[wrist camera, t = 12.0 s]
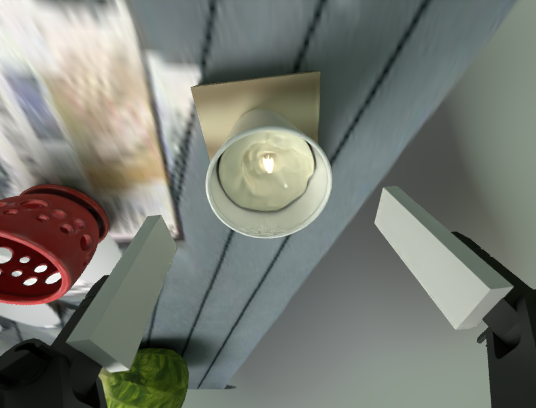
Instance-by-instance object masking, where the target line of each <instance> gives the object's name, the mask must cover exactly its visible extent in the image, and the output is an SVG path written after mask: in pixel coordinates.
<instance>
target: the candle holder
mask: <svg viewBox="0 0 536 408" xmlns="http://www.w3.org/2000/svg"><path fill="white" fill-rule="evenodd" d="M332 183H333V177H332V170H331V166H330V163H329V160H328V158H327V156H326V154H325V153H324V151H323V150H322V148H321V147H320V146H319V145H318V144H317V143H316V142H315V141H314V140H313V139H312V138H310V137H309V136H307V135H306V134H305V133H303V132H302V131H301V130H300V129H299V128H298V127H297V126H296V125H295V124H293V123H292V122H291V121H290V120H289V119H288V118H287V117H285V116H284V115H283V114H281V113H279V112H277V111H275V110H272V109H266V108H260V109H254V110H251V111H249V112H247V113H245V114H244V115H242V116H241V117H240V118H239V119H238V120H237V121H236V122H235V124H234V125H233V127H232V128H231V130H230V132H229V133H228V135H227V137H226V138H225V140H224V142H223V144H222V145H221V147H220V148H219V150H218V151H217V152H216V154H215V155H214V157H213V159H212V160H211V163H210V165H209V168H208V171H207V176H206V193H207V197H208V201H209V203H210V205H211V207H212V209H213V211H214V212H215V214H216V215H217V217H218V218H219V219H220V220H221V221H222V222H223V223H224V224H226V225H227V226H228V227H230V228H231V229H233V230H235V231H237V232H239V233H241V234H244V235H247V236H251V237H256V238H277V237H283V236H287V235H290V234H292V233H295V232H297V231H299V230H301V229H303V228H304V227H306V226H307V225H309V224H310V223H311V222H313V221H314V220H315V219H316V218H317V217H318V216H319V215H320V213H321V212H322V211H323V209H324V208H325V206H326V204H327V202H328V200H329V197H330V194H331V190H332Z"/></svg>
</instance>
